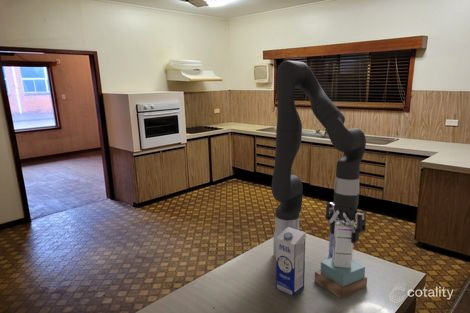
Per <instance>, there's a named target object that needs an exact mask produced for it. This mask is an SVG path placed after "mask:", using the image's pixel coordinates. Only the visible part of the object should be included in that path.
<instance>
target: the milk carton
mask: <svg viewBox="0 0 470 313" xmlns="http://www.w3.org/2000/svg"><path fill="white" fill-rule="evenodd" d="M306 233H307V232H306V231H302V230H300V229H299V230H297V229H294V228H290V227H287V228H286V229H285V230H284V231H283V232H282V233H281V234H280V235H279V236H278V237H277V246H276V258H275V260H276V261H275V262H276V263H275V265H276V266H275V268H276V270H275V273H276V274H275V289H276V290H278V291H281V292H283V293H284V294H286V295H289V296H291V297H294V296H296V295H297V294H298V293H299V292H301V290H303V289H304V288H305V270H306V268H305V266H306V262H305V261H306V238H307V237H306Z"/></svg>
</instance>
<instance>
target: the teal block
mask: <svg viewBox="0 0 470 313" xmlns="http://www.w3.org/2000/svg"><path fill="white" fill-rule="evenodd" d="M320 270H321V273H322V274H324V275H325V276H327V277H329V278H330V279H332V280H333V281H335V282H336V283H338V284H339V285H341V286H343V287H344V286H346V285H348V284H351V283H353V282H356V281H358V280H361V279H363V278H364V276H365V275H366V273H365V272H366V271H365V270H366V266H365V265H362V264H361V263H358V262H357V261H354V260H353V259H352V263H351V268H343V267H335V266H334V265H333V259H332V258H330V259H329V258H327V259H325V260H323V261H321V262H320ZM365 277H366V276H365Z"/></svg>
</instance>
